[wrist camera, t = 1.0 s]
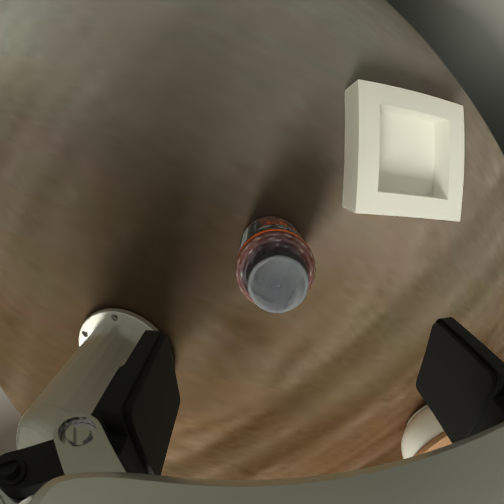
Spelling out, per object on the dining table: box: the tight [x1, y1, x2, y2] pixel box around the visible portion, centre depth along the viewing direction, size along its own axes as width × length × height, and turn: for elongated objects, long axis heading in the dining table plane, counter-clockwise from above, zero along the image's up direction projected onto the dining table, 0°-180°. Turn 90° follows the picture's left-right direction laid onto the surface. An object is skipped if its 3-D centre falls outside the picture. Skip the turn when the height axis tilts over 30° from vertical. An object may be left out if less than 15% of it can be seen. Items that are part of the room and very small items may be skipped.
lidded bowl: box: [401, 405, 452, 459], centre depth 32 cm, size 13×13×11 cm
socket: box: [342, 79, 464, 222], centre depth 26 cm, size 12×12×4 cm
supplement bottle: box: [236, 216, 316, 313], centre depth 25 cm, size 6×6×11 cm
